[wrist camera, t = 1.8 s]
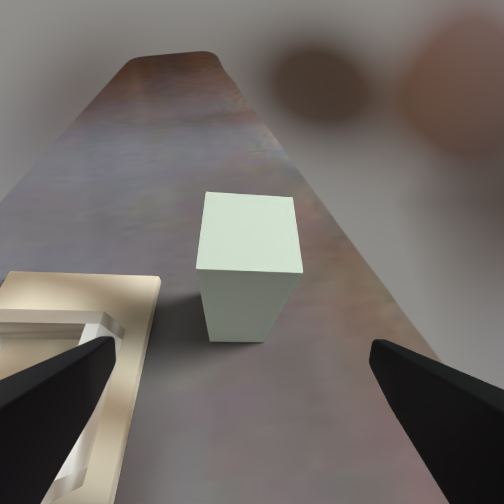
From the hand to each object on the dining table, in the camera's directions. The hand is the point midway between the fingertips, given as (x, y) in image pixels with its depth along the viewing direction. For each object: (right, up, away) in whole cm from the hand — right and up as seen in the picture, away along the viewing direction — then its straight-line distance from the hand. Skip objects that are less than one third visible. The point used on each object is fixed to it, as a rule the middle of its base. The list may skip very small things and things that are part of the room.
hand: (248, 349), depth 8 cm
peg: (-1, -2, +13) cm, 13 cm away
